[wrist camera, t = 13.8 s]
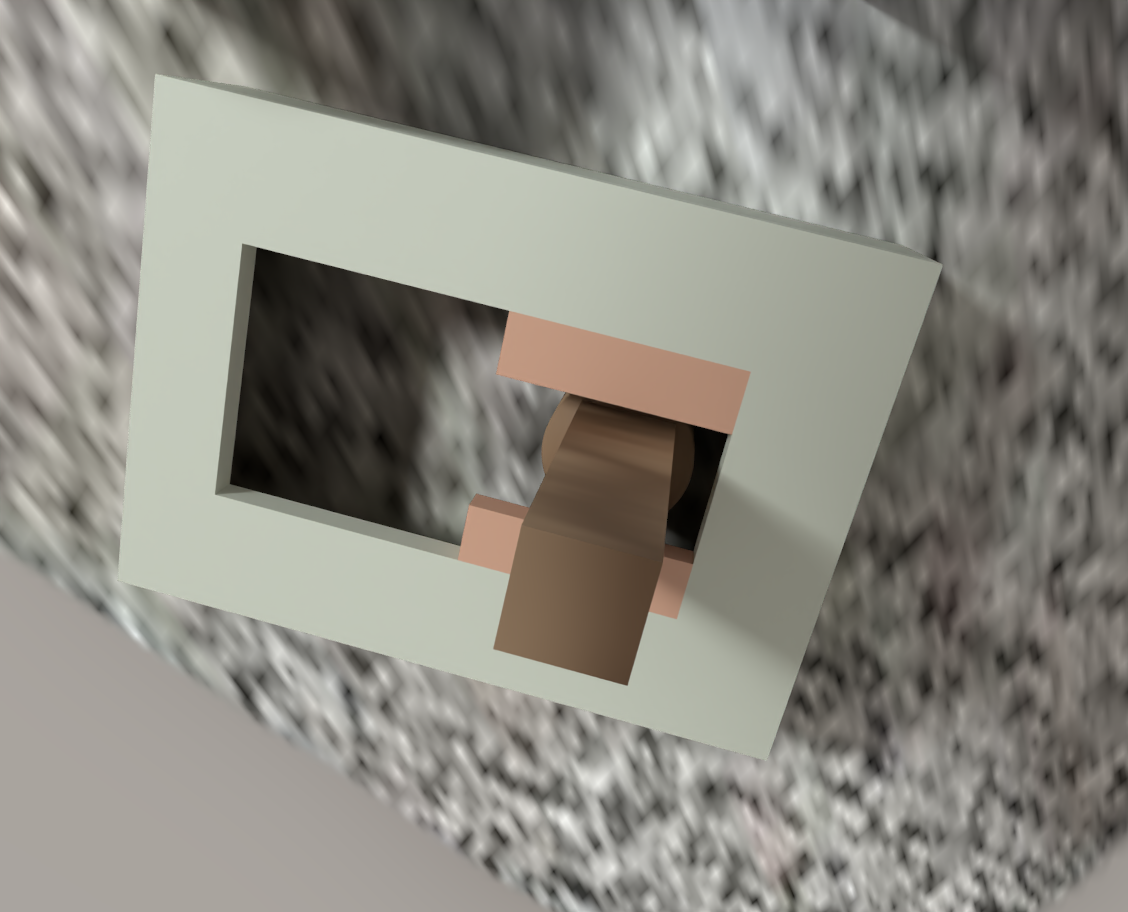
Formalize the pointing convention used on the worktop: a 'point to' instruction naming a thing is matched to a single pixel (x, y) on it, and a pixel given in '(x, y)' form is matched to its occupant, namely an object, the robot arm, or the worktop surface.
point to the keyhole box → (529, 353)
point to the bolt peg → (594, 537)
